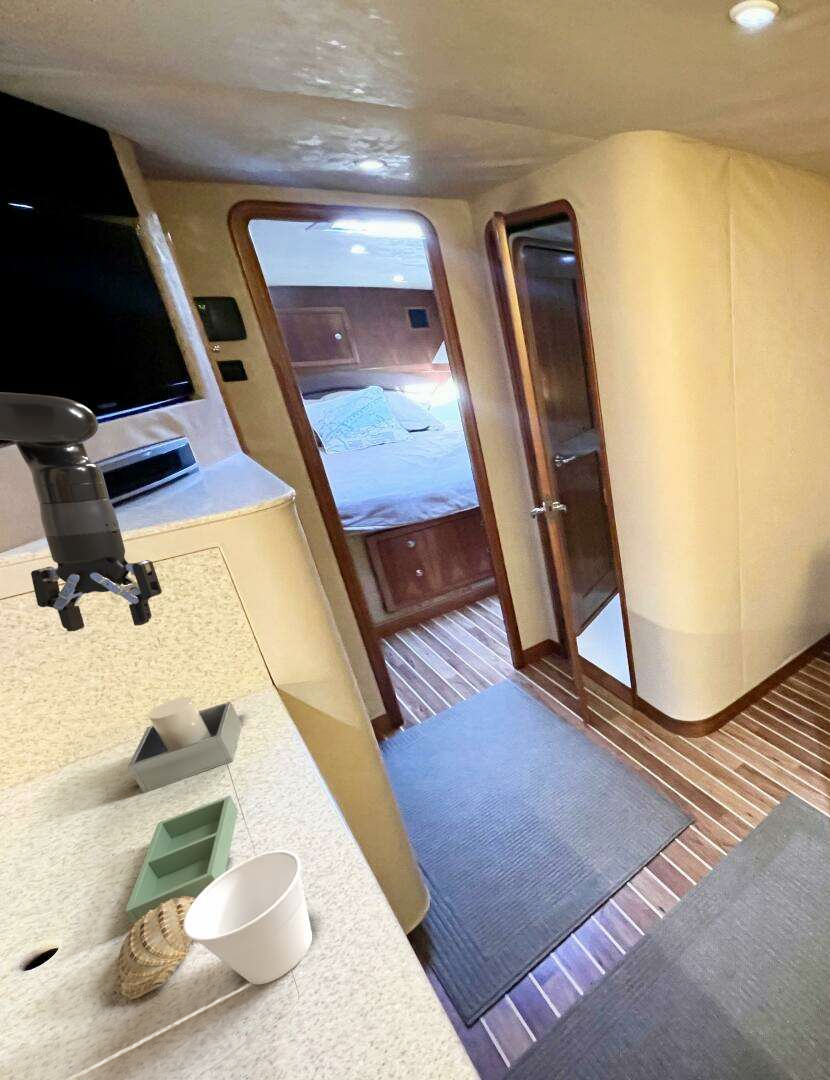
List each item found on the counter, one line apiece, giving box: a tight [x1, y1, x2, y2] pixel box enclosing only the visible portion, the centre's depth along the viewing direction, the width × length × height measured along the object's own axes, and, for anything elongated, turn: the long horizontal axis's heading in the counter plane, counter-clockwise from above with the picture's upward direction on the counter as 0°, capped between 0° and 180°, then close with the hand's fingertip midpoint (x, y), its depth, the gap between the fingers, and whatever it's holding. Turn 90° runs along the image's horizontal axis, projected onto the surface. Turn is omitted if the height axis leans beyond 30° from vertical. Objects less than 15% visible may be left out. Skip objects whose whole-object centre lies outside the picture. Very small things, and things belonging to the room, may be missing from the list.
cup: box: [183, 849, 313, 985], centre depth 59 cm, size 10×10×11 cm
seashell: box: [116, 896, 196, 1002], centre depth 61 cm, size 8×6×10 cm
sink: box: [127, 701, 243, 794], centre depth 92 cm, size 11×11×6 cm
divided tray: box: [124, 795, 239, 926], centre depth 72 cm, size 8×15×4 cm, turn 34°
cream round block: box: [148, 696, 212, 752], centre depth 91 cm, size 5×5×10 cm
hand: (109, 626), depth 86 cm, fingers open, 8 cm apart
